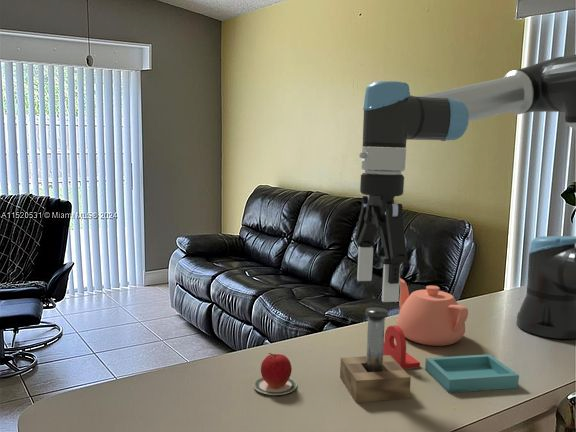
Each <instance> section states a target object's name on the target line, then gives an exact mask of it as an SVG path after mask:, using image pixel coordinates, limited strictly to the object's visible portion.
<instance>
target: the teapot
mask: <svg viewBox="0 0 576 432" xmlns="http://www.w3.org/2000/svg"><path fill="white" fill-rule="evenodd" d="M407 284H408V283H407V282H406V281H405V280H404V279H403V278H401V277H400V285H399V303H398V304H399V309H400V310H399V313H398V316H397V321H396V326H399V327H400V328H401V329H402V331H403V333H404V336H405V339H408V340H409V341H412V342H414V343H418V344H421V345H426V346H433V347H443V346H449V345H453V344H455V343H458V341H460V339H462V337H464V335H465V333H466V321H467V319H468V316H469V310H468V308H467V307H466V306H465V305H460V304H459V303H458V302H457V300H456V298H455V296H454V295H452V294H451V293H448V292H447V291H442V290H441V288H440V287H439V286H437V285H426V286H425V289H418V290H415V291H414V290H413V291H412V292H411V293H410V292H409V286H408V285H407Z"/></svg>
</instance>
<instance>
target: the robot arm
mask: <svg viewBox="0 0 576 432" xmlns="http://www.w3.org/2000/svg"><path fill="white" fill-rule="evenodd" d="M363 103H364V104H363V108H362V111H363V123H362V126H363V127H362V150H361V151H362V152H360V153H359V154H358V155H359V158H360V159H361V169H362V171H364V172H362V174H360V183H359V185H360V187H359V191H360V193H361V194H362V195H363V196H362V198H361V208H360V211H359V212H360V213H359V217H358V221H357V226H356V231H355V236H354V240H355V241H354V242H357V243H356V244H357V247H358V252H357V254H358V256H357V271H356V272H357V276H356V281H357V282H372V278H373V265H374V264H373V259H374V247H375V246H376V245H375V242H374V239H375V237H376V234H377V232H378V231H379V234H380V238H381V244H382V248H383V252H384V256H385V258H384V259H383V261H382V262H381V263H382V265H383V270H382V288H381V289H382V290H381V301H382V303H392V302H394V303H395V302H396V303H398V302H399V299H400V278H401V265H403V264H404V263H405V264H406V263H408V261H409V260H408V251H407V244H406V237H405V228H404V220H403V204H402V203H395V197H400V196H403V194H404V188H405V186H404V185H405V176H404V174H402V172H405V170H406V160H407V159H406V157H407V141H408V140H412V141H413V140H415V141H419V140H420V141H441V142H446V141H457V140H458V139H460V138H461V137H463V136H464V134H465V133H466V131H467V129H468V127H469V122H474V121H477V120H481V119H486V118H491V117H494V116H498V115H502V114H506V113H510V114H513V115H521V114H525V113H536V112H537V113H539V112H541V113H543V112H545V113H547V112H550V113H551V112H553V113H557V112H558V113H559V112H561V113H563V112H564V119H565V120H564V122H565V124H566V125H568V126H569V127H570V128H572V129H573V131H574V133H573V134H574V145H575V149H576V54H570V55H565V56H558V57H553V58H550V59H547V60H544V61H540V62H538V63H535V64H531V65H529V66H526V67H523V68H518V69H514V70H510V71H509V72H507V73H506V74H505V75H504V76H503V77H500V78H495V79H491V80H486V81H482V82H478V83H477V82H476V83H473V84H468V85H464V86H463V85H462V86H459V87H455V88H448V89H446V90H439V91H436V92H432V93H427V94H422V95H418V96H415V95H411V92H410V85H409V84H408V83H407V82H402V81H395V80H387V81H386V80H384V81H383V80H382V81H381V80H380V81H374V82H371V83H369V84H368V85H367V86H366V88H365V94H364V102H363ZM529 249H530V250H529V251H528V264H527V265H528V269H527V283H526V294H525V297H524V299H523V301H522V304H521V306H520V308H519V311H518V312H517V315H516V326H517V327H518V328H520V329H521V330H522V331H525V332H528V333H530V334H533V335H537V336H540V337H545V338H551V339H562V340H563V339H565V340H569V339H570V340H571V339H573V340H574V339H576V236H573V235H569V236H568V235H551V236H550V235H548V236H547V235H546V236H536V237H535V238H533V239H532V241H531V243H530V248H529Z"/></svg>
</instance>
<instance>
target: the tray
mask: <svg viewBox="0 0 576 432" xmlns="http://www.w3.org/2000/svg"><path fill="white" fill-rule="evenodd" d="M424 366H425V367H424V369H425V371H426V372H427V374H429V375H430V377H432V378H433V379H434V380H435V381H436V382H437V383H438V384H439V385H440V386H441V387H442V388H443V389H444V390H445V391H446V392H447V393H448V394H449V393H465V392H466V393H467V392H478V391H479V392H480V391H490V390H491V391H492V390H495V391H496V390H507V389H518V388H519V380H520V379H519V378H520V375H519V374H518V373H516V372H515V371H514V370H512V369H511V368H510V367H508V366H507V365H505V364H504V363H503V362H501V361H500V360H498V359H497V357H496V358H495V357H494V356H493V355H492V354H472V355H471V354H470V355H456V356H455V355H454V356H437V357H436V356H435V357H425V364H424Z"/></svg>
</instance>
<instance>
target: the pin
mask: <svg viewBox="0 0 576 432" xmlns="http://www.w3.org/2000/svg"><path fill="white" fill-rule="evenodd" d="M388 315H389V310H387V309H386V308H384V307H378V306H377V307H376V306H375V307H374V306H372V307H367V308H366V309H365V316H366V317H367V335H366V336H367V337H366V339H367V340H366V356H367V357H366V371H367V372H380V371H382V369H383V347H384V342H385V323H386V322H385V321H386V318H387V317H388Z"/></svg>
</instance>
